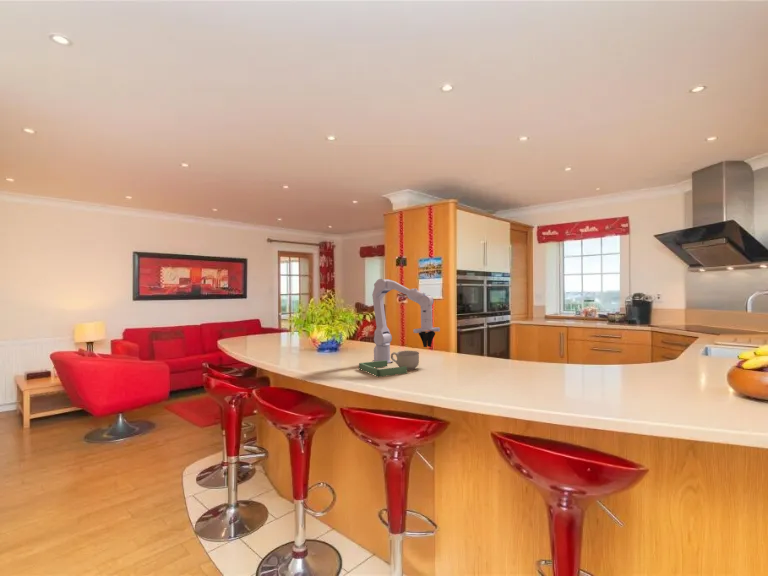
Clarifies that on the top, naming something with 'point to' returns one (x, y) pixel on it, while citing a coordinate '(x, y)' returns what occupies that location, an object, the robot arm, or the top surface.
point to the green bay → (381, 372)
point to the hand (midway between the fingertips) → (427, 346)
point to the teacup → (406, 359)
